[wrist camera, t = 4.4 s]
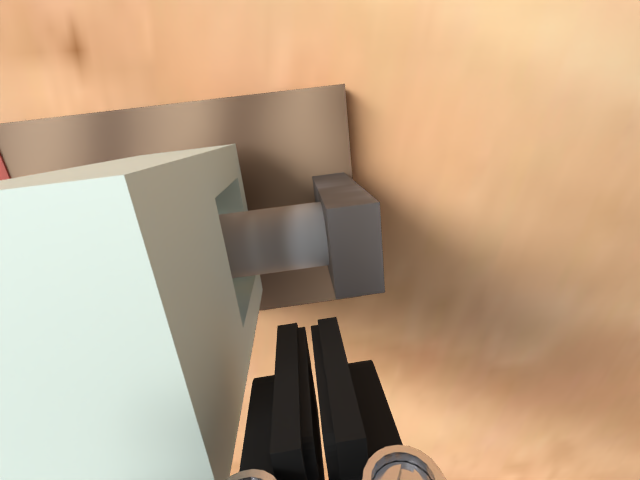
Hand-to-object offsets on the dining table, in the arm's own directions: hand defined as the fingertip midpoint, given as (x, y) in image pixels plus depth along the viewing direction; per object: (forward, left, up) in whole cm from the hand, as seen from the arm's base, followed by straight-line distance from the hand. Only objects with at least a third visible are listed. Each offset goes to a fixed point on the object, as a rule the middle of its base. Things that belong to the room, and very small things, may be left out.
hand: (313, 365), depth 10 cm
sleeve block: (+4, -3, -7) cm, 9 cm away
